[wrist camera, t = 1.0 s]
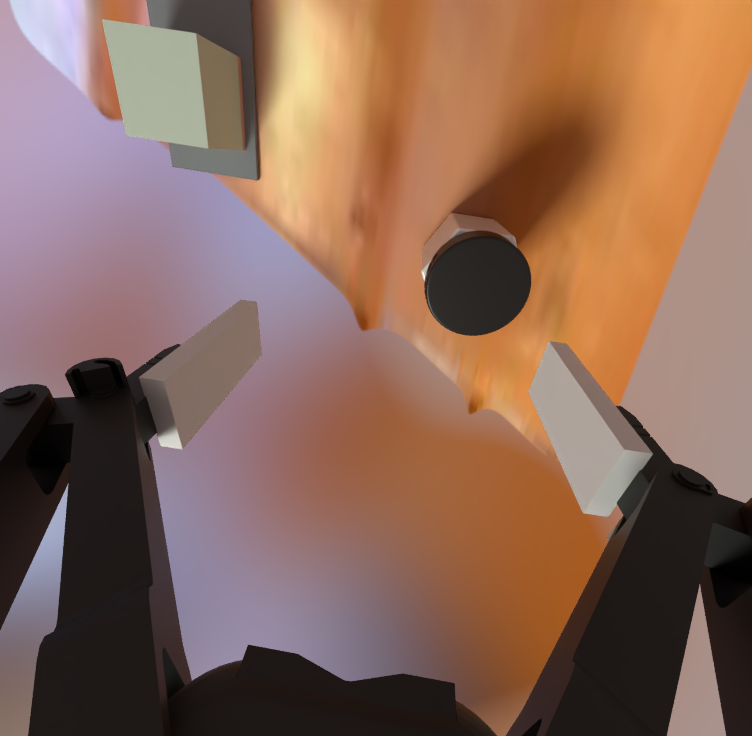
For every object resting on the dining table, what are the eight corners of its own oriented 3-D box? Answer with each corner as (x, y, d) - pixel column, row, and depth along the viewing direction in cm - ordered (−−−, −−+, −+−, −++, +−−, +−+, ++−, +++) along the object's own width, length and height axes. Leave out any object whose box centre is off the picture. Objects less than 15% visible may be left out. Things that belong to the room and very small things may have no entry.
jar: (412, 228, 37) (408, 255, 26) (490, 196, 34) (518, 211, 24) (438, 303, 41) (443, 352, 30) (510, 279, 38) (541, 323, 28)
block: (164, 46, 31) (101, 19, 25) (240, 57, 31) (196, 33, 25) (177, 139, 34) (126, 135, 28) (245, 150, 34) (208, 148, 28)
